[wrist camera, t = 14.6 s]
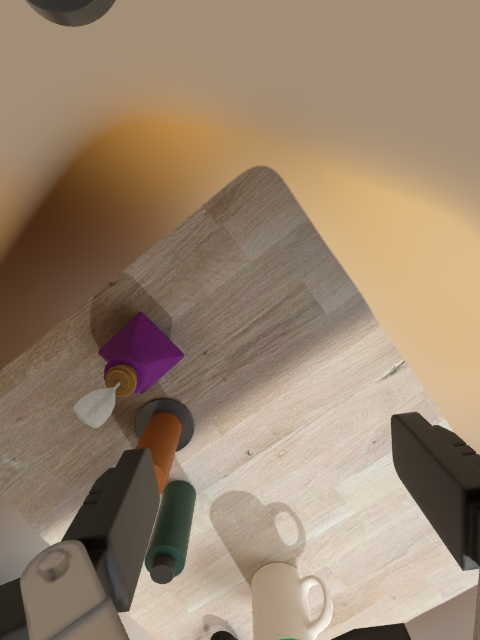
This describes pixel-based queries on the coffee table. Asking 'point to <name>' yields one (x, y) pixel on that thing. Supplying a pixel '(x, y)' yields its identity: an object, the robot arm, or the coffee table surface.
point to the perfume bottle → (129, 367)
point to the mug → (286, 604)
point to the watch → (222, 636)
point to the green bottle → (171, 533)
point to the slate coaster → (170, 407)
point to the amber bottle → (161, 443)
